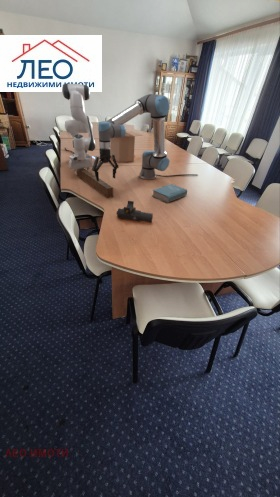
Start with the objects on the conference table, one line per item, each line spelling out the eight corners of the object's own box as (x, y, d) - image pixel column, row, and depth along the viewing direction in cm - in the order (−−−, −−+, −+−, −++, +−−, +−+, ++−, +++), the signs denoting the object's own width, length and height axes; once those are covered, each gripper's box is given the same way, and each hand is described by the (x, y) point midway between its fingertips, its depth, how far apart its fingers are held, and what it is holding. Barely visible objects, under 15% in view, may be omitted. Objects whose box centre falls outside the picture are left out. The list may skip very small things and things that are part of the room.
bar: (113, 196, 166) (112, 187, 161) (107, 198, 163) (107, 188, 159) (82, 174, 201) (81, 166, 196) (77, 175, 198) (76, 167, 194)
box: (144, 162, 244) (146, 135, 228) (114, 165, 229) (114, 136, 213) (127, 152, 274) (128, 128, 258) (100, 154, 260) (99, 128, 243)
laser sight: (150, 226, 134) (151, 211, 128) (114, 220, 137) (114, 205, 131) (152, 218, 142) (154, 204, 136) (119, 213, 144) (119, 199, 139)
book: (170, 189, 184) (171, 183, 181) (186, 195, 175) (187, 189, 172) (152, 196, 171) (152, 189, 168) (168, 203, 162) (169, 196, 159)
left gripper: (90, 154, 193) (91, 170, 201) (67, 156, 183) (69, 173, 191) (93, 156, 189) (94, 172, 197) (70, 158, 179) (72, 175, 187)
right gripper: (118, 145, 157) (117, 175, 170) (85, 148, 145) (87, 180, 157) (123, 147, 152) (123, 178, 165) (90, 151, 140) (92, 183, 152)
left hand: (81, 173), depth 194 cm, fingers open, 8 cm apart
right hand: (105, 179), depth 161 cm, fingers open, 13 cm apart
